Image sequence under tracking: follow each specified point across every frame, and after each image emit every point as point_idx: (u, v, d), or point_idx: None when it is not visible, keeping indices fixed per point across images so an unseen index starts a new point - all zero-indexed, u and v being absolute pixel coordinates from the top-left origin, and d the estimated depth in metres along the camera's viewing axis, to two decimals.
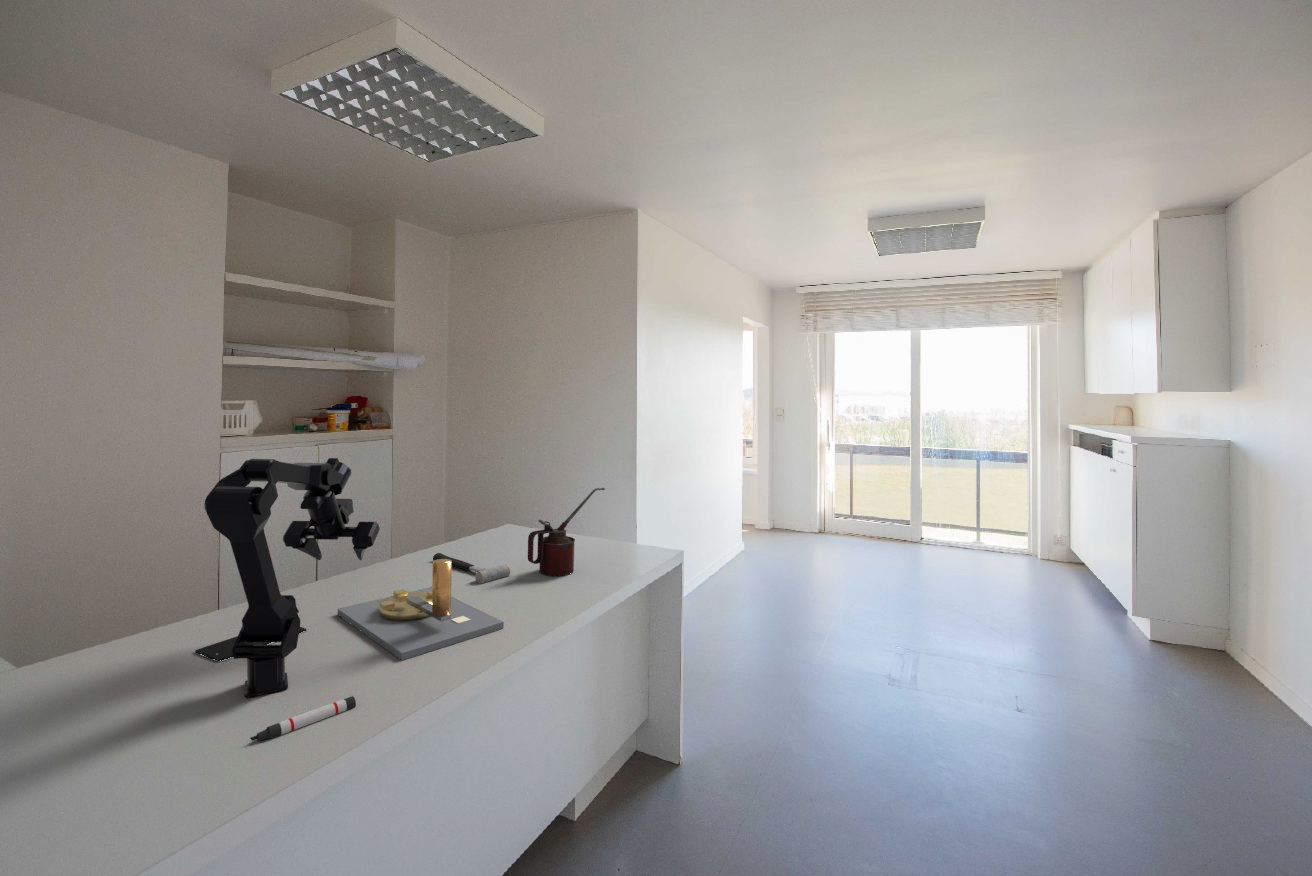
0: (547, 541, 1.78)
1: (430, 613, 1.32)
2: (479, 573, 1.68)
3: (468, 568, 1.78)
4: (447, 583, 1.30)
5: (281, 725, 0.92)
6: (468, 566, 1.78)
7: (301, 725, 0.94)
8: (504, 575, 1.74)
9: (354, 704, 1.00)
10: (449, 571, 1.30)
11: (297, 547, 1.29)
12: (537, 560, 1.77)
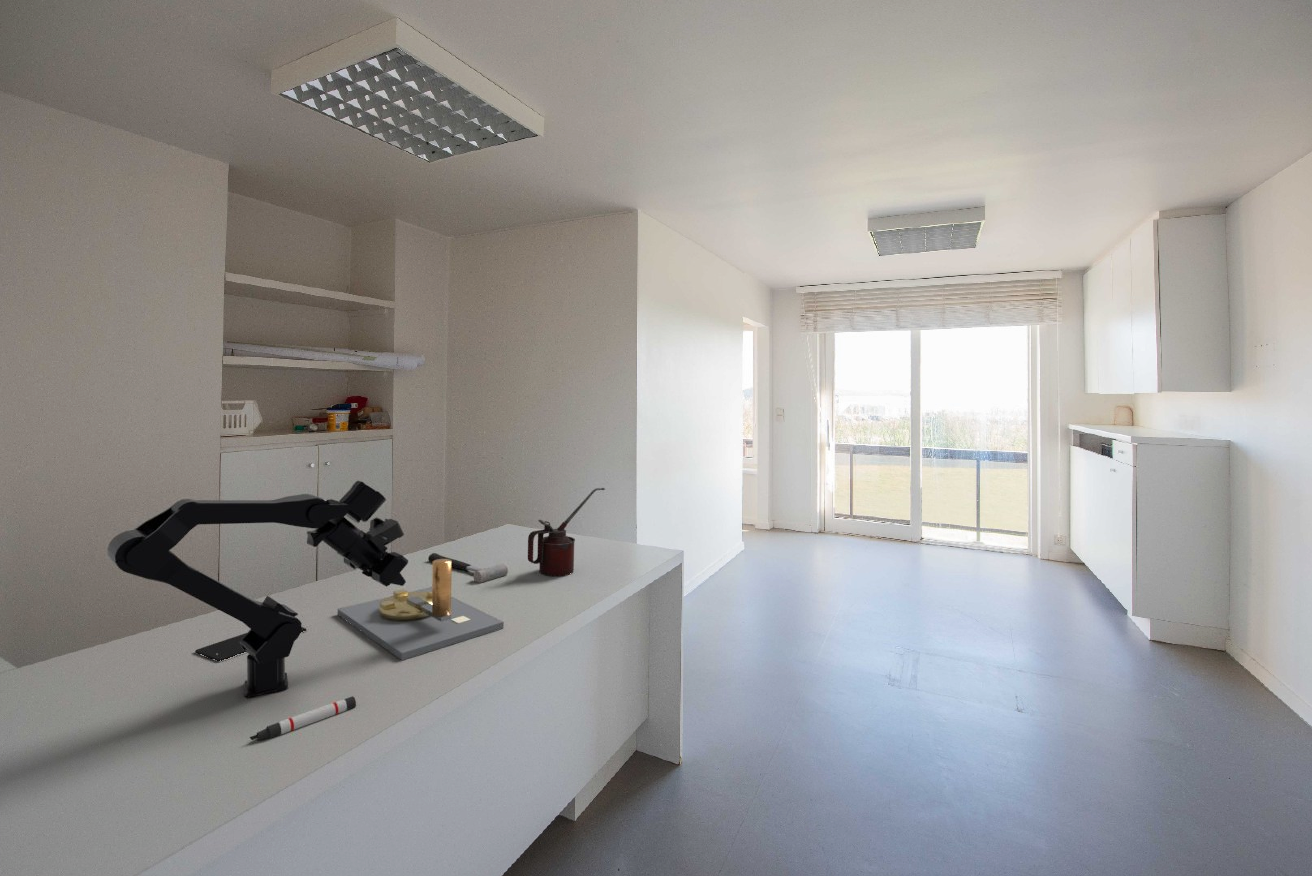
0: (547, 541, 1.78)
1: (430, 613, 1.32)
2: (477, 572, 1.69)
3: (465, 568, 1.78)
4: (447, 583, 1.30)
5: (281, 725, 0.92)
6: (465, 566, 1.78)
7: (301, 725, 0.94)
8: (502, 574, 1.74)
9: (354, 704, 1.00)
10: (449, 571, 1.30)
11: None
12: (537, 560, 1.77)
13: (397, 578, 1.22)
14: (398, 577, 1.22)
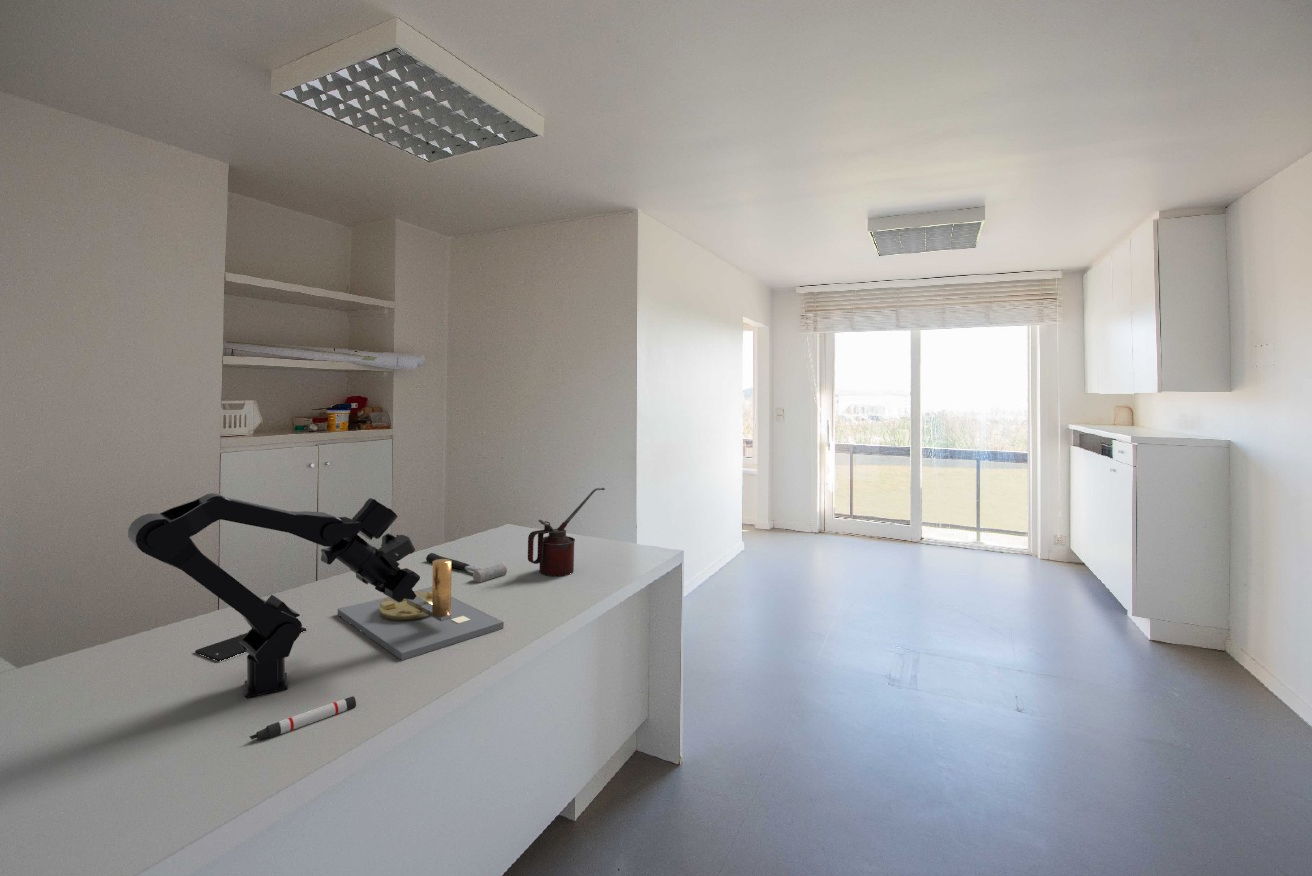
0: (547, 541, 1.78)
1: (430, 613, 1.32)
2: (477, 572, 1.69)
3: (464, 568, 1.78)
4: (447, 583, 1.30)
5: (281, 724, 0.92)
6: (464, 566, 1.78)
7: (301, 724, 0.94)
8: (501, 574, 1.75)
9: (354, 704, 1.00)
10: (449, 571, 1.30)
11: (376, 589, 1.23)
12: (537, 560, 1.77)
13: (408, 593, 1.25)
14: (409, 592, 1.25)
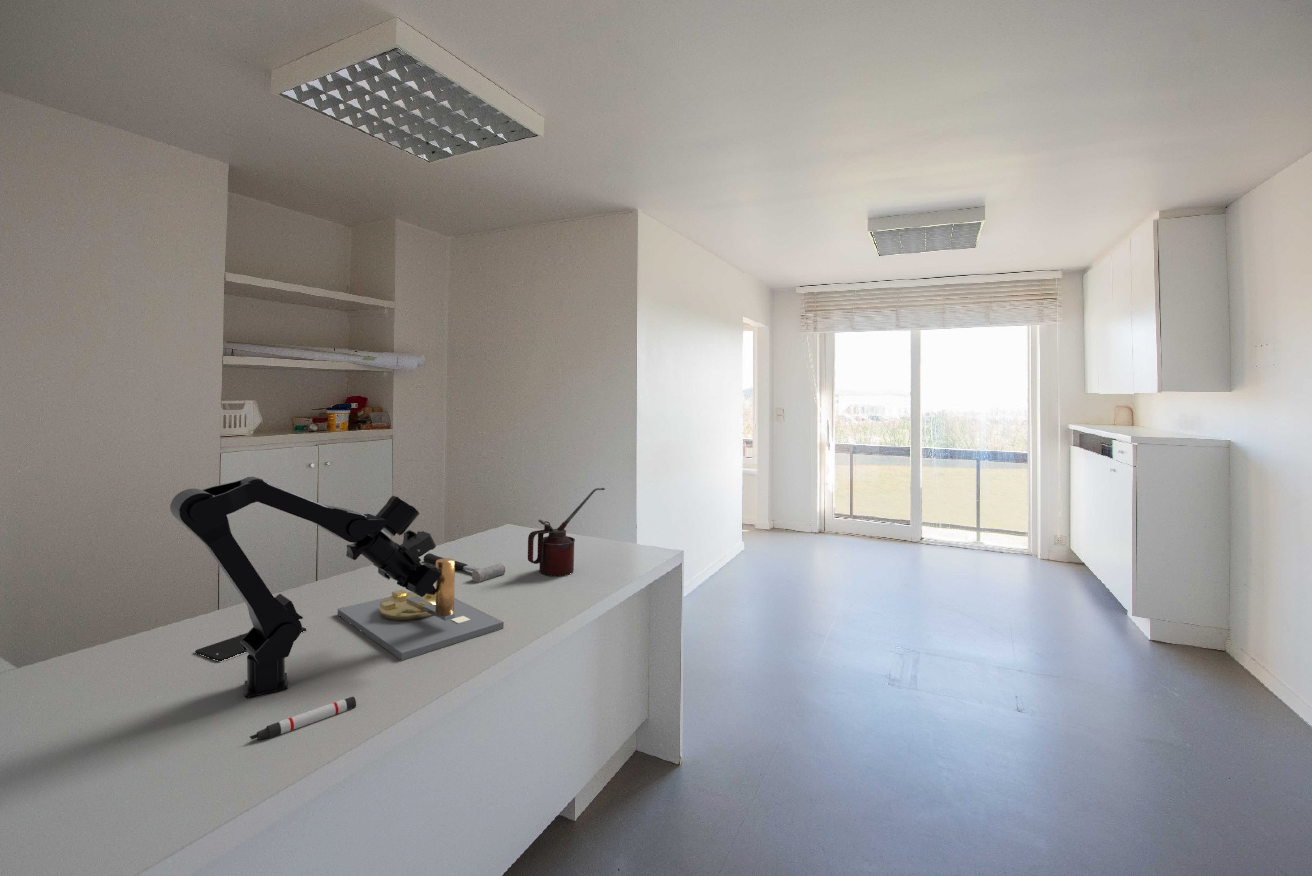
0: (547, 541, 1.78)
1: (433, 612, 1.33)
2: (476, 572, 1.69)
3: (462, 567, 1.78)
4: (451, 582, 1.31)
5: (281, 724, 0.92)
6: (462, 565, 1.78)
7: (301, 725, 0.94)
8: (500, 573, 1.75)
9: (354, 704, 1.00)
10: (453, 570, 1.31)
11: (398, 584, 1.26)
12: (537, 560, 1.77)
13: None
14: None
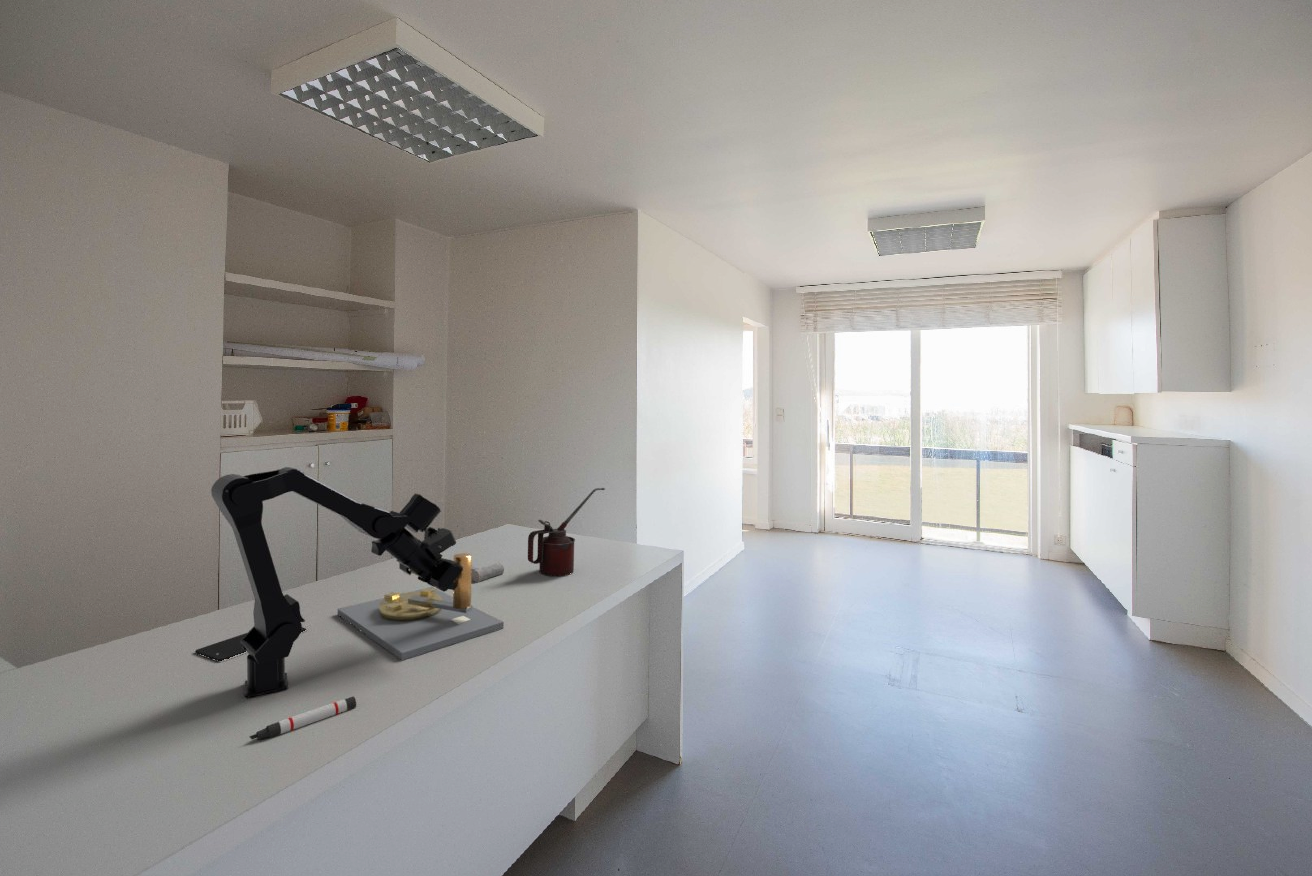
0: (547, 541, 1.78)
1: (448, 607, 1.36)
2: (475, 572, 1.69)
3: None
4: (470, 576, 1.36)
5: (281, 724, 0.92)
6: None
7: (301, 725, 0.94)
8: (498, 573, 1.75)
9: (354, 704, 1.00)
10: (471, 564, 1.36)
11: (419, 579, 1.30)
12: (537, 560, 1.77)
13: None
14: None
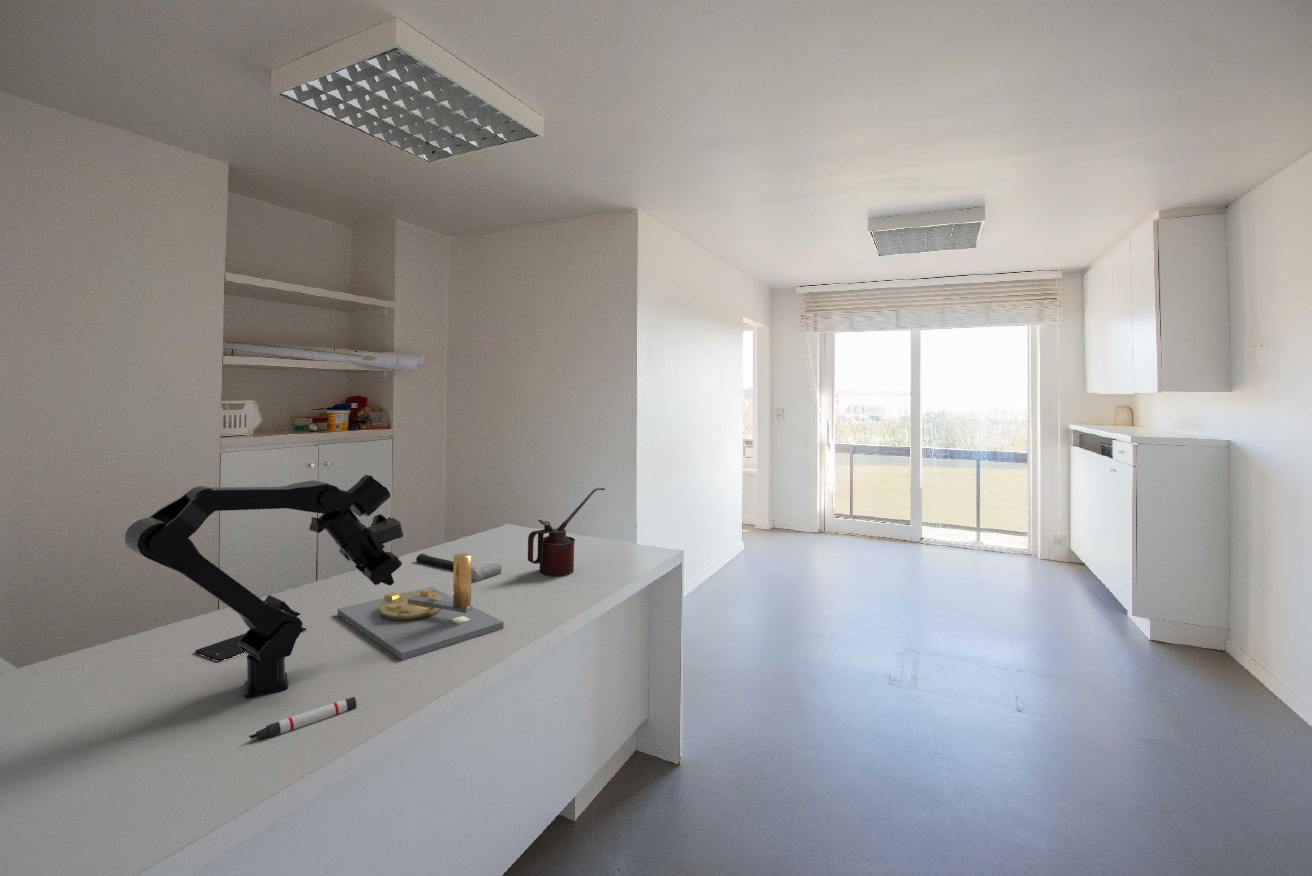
0: (547, 541, 1.78)
1: (448, 607, 1.36)
2: (473, 571, 1.70)
3: None
4: (470, 576, 1.36)
5: (281, 724, 0.92)
6: None
7: (300, 725, 0.94)
8: (496, 572, 1.76)
9: (355, 705, 1.00)
10: (471, 564, 1.36)
11: None
12: (537, 560, 1.77)
13: (386, 577, 1.23)
14: (388, 576, 1.23)
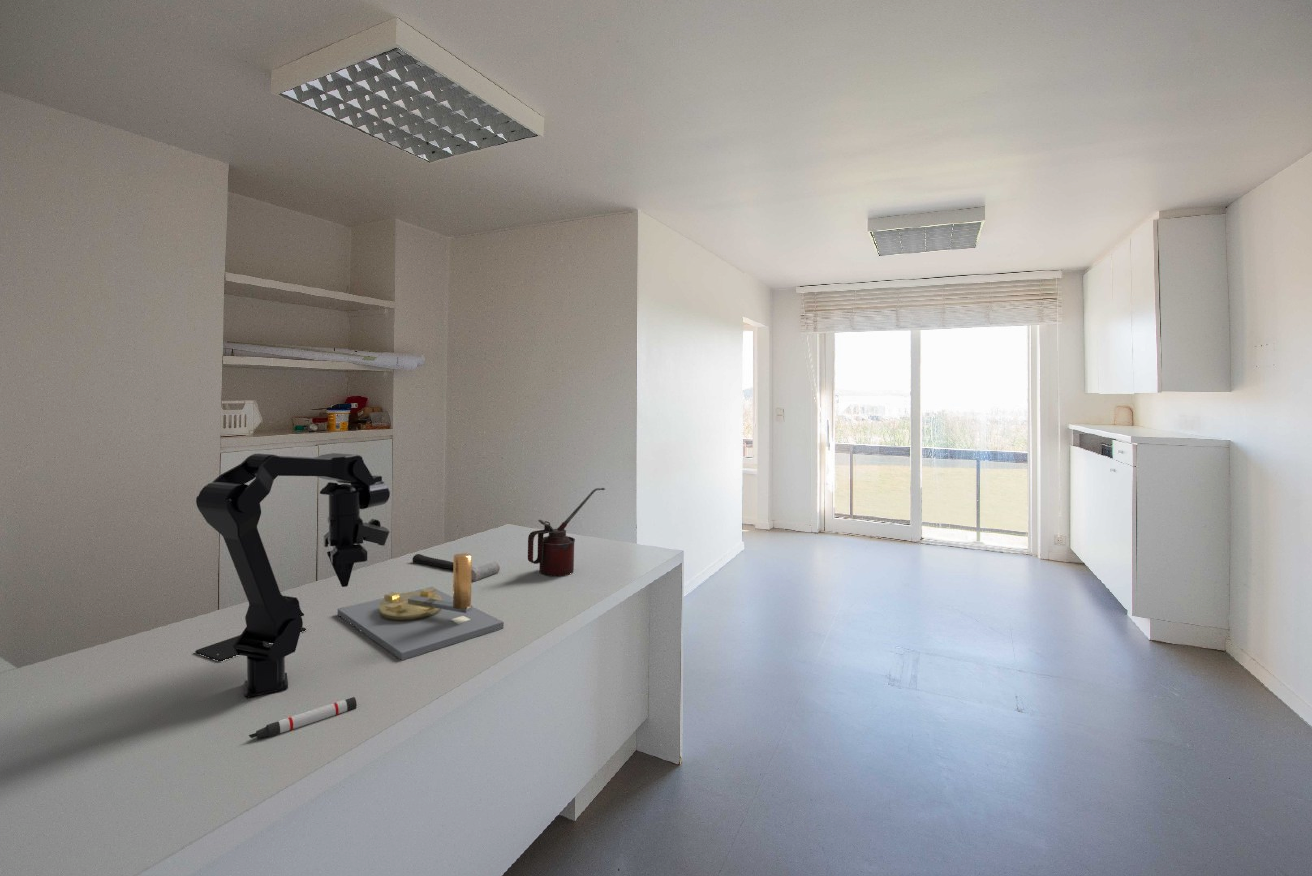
0: (547, 541, 1.78)
1: (448, 607, 1.36)
2: (472, 571, 1.70)
3: None
4: (470, 576, 1.36)
5: (280, 724, 0.92)
6: None
7: (300, 724, 0.94)
8: (494, 572, 1.76)
9: (355, 705, 1.00)
10: (471, 564, 1.36)
11: (327, 553, 1.23)
12: (537, 560, 1.77)
13: (344, 575, 1.22)
14: (346, 575, 1.22)
